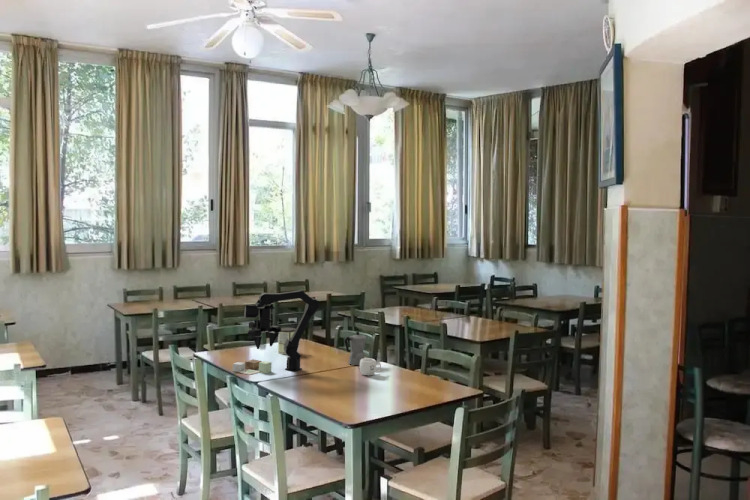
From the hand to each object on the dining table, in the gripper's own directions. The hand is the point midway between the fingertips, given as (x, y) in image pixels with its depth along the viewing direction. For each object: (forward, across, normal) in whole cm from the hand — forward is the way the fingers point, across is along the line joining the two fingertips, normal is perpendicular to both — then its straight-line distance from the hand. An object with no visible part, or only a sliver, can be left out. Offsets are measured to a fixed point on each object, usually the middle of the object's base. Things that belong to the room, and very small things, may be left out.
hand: (264, 347), depth 331 cm
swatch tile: (+12, +7, -3) cm, 14 cm away
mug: (+13, -31, +45) cm, 56 cm away
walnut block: (+12, 0, -8) cm, 15 cm away
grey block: (+12, +8, -10) cm, 18 cm away
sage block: (+12, +1, +2) cm, 12 cm away
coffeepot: (+13, -44, +26) cm, 52 cm away
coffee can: (+12, -41, -22) cm, 48 cm away
